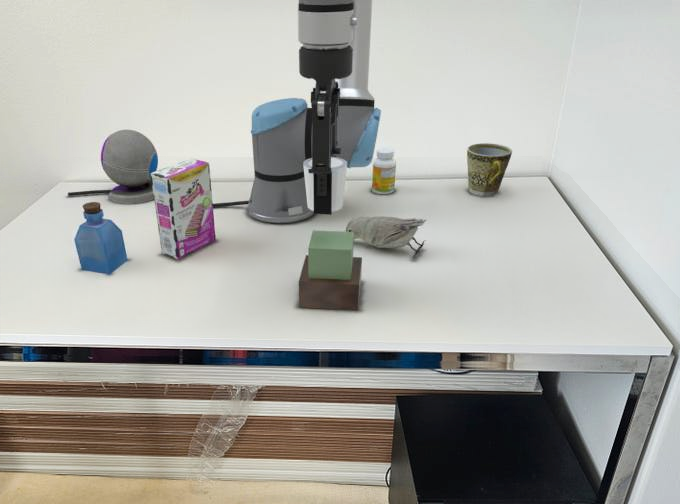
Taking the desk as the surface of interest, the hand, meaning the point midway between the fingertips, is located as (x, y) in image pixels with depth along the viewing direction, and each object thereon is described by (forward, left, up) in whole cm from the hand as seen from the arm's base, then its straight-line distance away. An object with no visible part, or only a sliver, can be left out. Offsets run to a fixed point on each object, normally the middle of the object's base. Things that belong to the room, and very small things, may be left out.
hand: (325, 204), depth 98 cm
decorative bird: (-1, +22, -17) cm, 27 cm away
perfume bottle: (-41, -15, -17) cm, 47 cm away
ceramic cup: (+3, +62, -17) cm, 64 cm away
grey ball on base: (-66, +14, -17) cm, 69 cm away
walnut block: (+1, +1, -16) cm, 16 cm away
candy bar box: (-33, 0, -17) cm, 37 cm away
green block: (+1, 0, -11) cm, 11 cm away
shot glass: (0, 0, 0) cm, 0 cm away
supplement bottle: (-18, +50, -17) cm, 55 cm away
